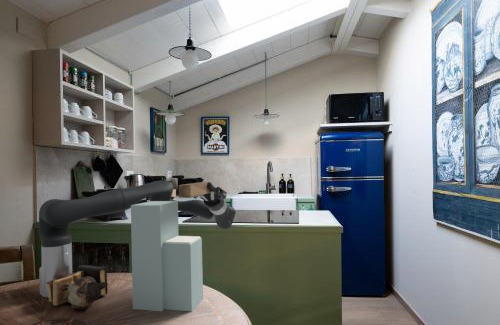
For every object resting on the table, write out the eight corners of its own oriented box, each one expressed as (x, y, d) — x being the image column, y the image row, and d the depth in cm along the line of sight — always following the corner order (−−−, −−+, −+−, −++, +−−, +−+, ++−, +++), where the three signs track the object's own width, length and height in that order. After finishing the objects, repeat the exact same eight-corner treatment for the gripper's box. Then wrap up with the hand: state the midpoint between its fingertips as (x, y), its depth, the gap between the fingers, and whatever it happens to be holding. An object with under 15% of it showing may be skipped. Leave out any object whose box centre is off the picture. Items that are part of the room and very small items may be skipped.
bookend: (83, 264, 115) (127, 266, 102) (84, 294, 114) (130, 300, 101) (39, 275, 102) (84, 279, 90) (40, 309, 101) (86, 318, 89)
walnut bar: (179, 197, 100) (178, 185, 101) (202, 192, 120) (202, 182, 120) (190, 197, 100) (190, 185, 100) (212, 192, 119) (211, 182, 119)
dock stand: (132, 308, 96) (130, 205, 97) (153, 293, 108) (151, 201, 109) (189, 313, 92) (187, 205, 93) (204, 297, 104) (202, 201, 104)
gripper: (231, 211, 126) (218, 193, 111) (198, 211, 129) (182, 193, 114) (233, 194, 129) (221, 175, 115) (201, 194, 133) (186, 175, 118)
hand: (202, 184), depth 115 cm, fingers closed on walnut bar, 4 cm apart
